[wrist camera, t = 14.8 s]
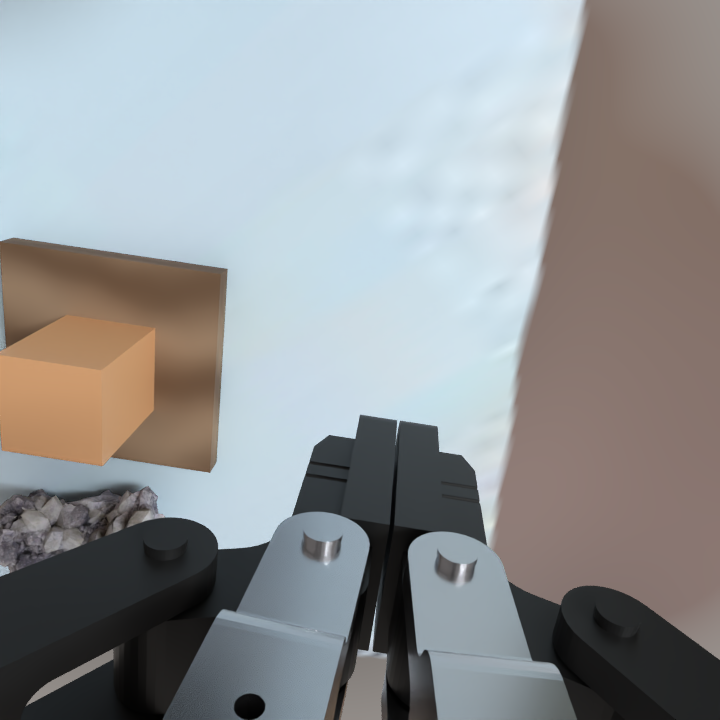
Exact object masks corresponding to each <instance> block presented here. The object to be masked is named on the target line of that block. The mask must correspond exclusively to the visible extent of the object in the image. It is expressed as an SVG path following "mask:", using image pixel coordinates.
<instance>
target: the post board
mask: <svg viewBox="0 0 720 720" xmlns="http://www.w3.org/2000/svg"><path fill="white" fill-rule="evenodd" d="M0 259H1V274H2V290H3V305H4V321H5V336H6V348H7V347H9V346H11V345H13V344H15V343H16V342H18V341H20V340H22V339H24V338H25V337H27V336H29V335H31V334H33V333H35V332H36V331H38V330H40V329H42V328H44V327H46V326H47V325H49V324H51V323H53V322H55V321H56V320H58V319H60V318H62V317H64V316H66V315H71V316H78V317H84V318H91V319H98V320H104V321H111V322H118V323H125V324H131V325H138V326H145V327H151V328H155V372H154V411H153V412H152V413H151V414H150V415H149V416H148V417H147V418H146V419H145V420H144V421H143V423H142V424H141V425H140V426H139V427H138V428H137V429H136V430H135V431H134V432H133V433H132V435H131V436H130V437H129V438H128V439H127V440H126V441H125V442H124V443H123V444H122V445H121V446H120V448H119V449H118V450H117V451H116V452H115V453H114V454H113V455H112V456H111V457H114V458H120V459H126V460H133V461H139V462H145V463H152V464H158V465H165V466H171V467H177V468H184V469H190V470H196V471H203V472H209V473H210V472H211V470H212V468H213V467H214V465H215V463H216V458H217V441H218V424H219V407H220V389H221V372H222V355H223V338H224V321H225V304H226V287H227V269H224V268H217V267H210V266H203V265H196V264H189V263H183V262H176V261H169V260H162V259H155V258H148V257H141V256H135V255H128V254H121V253H114V252H107V251H100V250H94V249H87V248H80V247H73V246H66V245H59V244H52V243H46V242H39V241H32V240H25V239H18V238H11V239H7V240H4V241H0Z"/></svg>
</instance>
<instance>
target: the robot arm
mask: <svg viewBox="0 0 720 720" xmlns="http://www.w3.org/2000/svg"><path fill="white" fill-rule="evenodd" d="M396 428H397V420H391V419H385V418H378V417H371V416H365V415H360V418H359V423H358V428H357V434H356V439H351V438H345V437H338V436H332V435H329V436H328V437H326V438H325V439H323V440H322V441H321V442H319V443H318V444H317V445H315V446H314V449H313V452H312V455H311V458H310V462H309V465H308V468H307V471H306V475H305V477H304V480H303V483H302V487H301V490H300V493H299V496H298V499H297V502H296V505H295V508H294V512H293V515H292V517H289V518H287V519H286V520H284V521H283V522H282V523H281V524H280V525H279V526H278V527H277V529H276V530H275V533H274V535H273V537H272V539H271V541H269V542H267V543H264V544H261V545H258V546H253V547H247V548H236V549H220V550H218V543H217V539H216V537H215V536H214V534H213V533H212V532H211V531H210V530H209V529H208V528H206V527H205V526H204V525H202V524H199V523H197V522H195V521H191V520H188V519H182V518H157V519H152V520H147V521H144V522H141V523H138V524H135V525H133V526H130V527H128V528H125V529H122V530H120V531H117V532H115V533H112V534H109V535H107V536H104V537H102V538H99V539H97V540H94V541H91V542H89V543H86V544H84V545H81V546H78V547H76V548H73V549H71V550H68V551H66V552H63V553H60V554H58V555H55V556H53V557H50V558H47V559H45V560H42V561H40V562H37V563H35V564H32V565H29V566H27V567H24V568H22V569H19V570H16V571H14V572H11V573H9V574H6V575H4V576H1V577H0V720H341V715H342V710H343V706H344V701H345V697H346V691H347V685H348V680H349V679H350V677H351V676H352V674H353V672H354V668H355V663H356V657H357V651H358V649H360V650H366V651H368V649H369V644H370V638H371V632H372V626H373V620H374V614H375V608H376V617H375V629H374V640H373V651H374V652H380V653H386V654H387V668H386V674H385V679H384V684H383V690H382V697H381V712H382V720H720V660H719V659H718V658H716V657H715V656H713V655H712V654H711V653H709V652H708V651H707V650H705V649H704V648H702V647H701V646H700V645H699V644H697V643H696V642H695V641H693V640H692V639H690V638H689V637H688V636H686V635H685V634H684V633H682V632H681V631H680V630H678V629H677V628H675V627H674V626H673V625H671V624H670V623H669V622H667V621H666V620H665V619H663V618H662V617H661V616H659V615H658V614H656V613H655V612H654V611H652V610H651V609H650V608H648V607H647V606H645V605H644V604H643V603H641V602H640V601H638V600H636V599H634V598H633V597H631V596H629V595H626V594H624V593H622V592H619V591H616V590H613V589H609V588H605V587H600V586H582V587H577V588H574V589H572V590H570V591H569V592H568V593H567V594H566V595H565V596H564V598H563V600H562V603H561V605H558V604H556V603H553V602H551V601H548V600H545V599H543V598H540V597H537V596H535V595H533V594H530V593H528V592H526V591H523V590H522V589H520V588H518V587H516V586H515V585H513V584H512V583H510V582H509V581H508V580H507V576H506V573H505V570H504V567H503V564H502V562H501V560H500V559H499V557H498V556H497V555H496V554H495V552H494V551H493V550H491V549H490V548H489V547H488V546H487V543H486V537H485V531H484V525H483V518H482V512H481V506H480V503H479V494H478V490H477V482H476V475H475V471H474V469H473V468H472V467H471V466H470V465H469V464H468V462H467V461H466V460H465V459H464V458H463V457H462V455H456V454H449V453H443V452H439V442H438V428H437V426H431V425H425V424H418V423H411V422H405V421H400V423H399V428H398V433H397V439H396ZM395 443H396V445H395ZM376 602H377V605H376ZM113 648H114V659H113V660H111V661H110V662H108V663H106V664H104V665H102V666H101V667H98V668H96V669H95V670H93V671H91V672H89V673H87V674H85V675H83V676H81V677H80V678H78V679H76V680H74V681H72V682H70V683H68V684H66V685H65V686H63V687H61V688H59V689H57V690H55V691H54V692H51V693H50V694H48V695H46V696H44V697H42V698H40V699H38V700H37V701H35V702H33V703H31V704H29V705H28V706H26V704H27V702H28V701H29V700H30V699H31V697H32V696H33V695H34V694H35V693H36V692H37V691H38V690H39V689H40V688H41V687H43V686H44V685H45V684H47V683H48V682H50V681H52V680H54V679H56V678H57V677H59V676H61V675H63V674H65V673H67V672H69V671H71V670H73V669H75V668H77V667H78V666H80V665H82V664H84V663H86V662H88V661H90V660H92V659H94V658H96V657H98V656H100V655H102V654H104V653H105V652H107V651H109V650H111V649H113Z"/></svg>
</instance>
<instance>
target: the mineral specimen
mask: <svg viewBox="0 0 720 720" xmlns="http://www.w3.org/2000/svg"><path fill="white" fill-rule="evenodd" d="M157 498H158V496H157V495H156V494H155V493H154V492H153V491H152V490H151V489H150V488H149V486H147V487H145V488H143V489H142V490H141V491H138V492H135V493H131V492H129V491H128V490H127V491H126V492H125V493H124V494H123V496H119V495H117V494H114V493H111V492H110V490H107V491H104V492H103V493H102V494H101V495H100V496H94V497H88V498H83V499H81V500H78V501H73V502H65V501H64V499H62V500H59V499H58V497H57V496H56V495H55V496H54V497H50V496H48V495H47V493H46V492H45V491H44V490H43V489H40V490H37V491H35V492H33V493H30V495H29V496H28V497H26V496H22V495H13V496H12V497H11V498H10V499H8V500H6V501H5V502H4V503H3V504H2V505H1V506H0V565H2V566H4V567H6V566H8V567H9V570H10V573H11V572H14V571H16V570H19V569H22V568H24V567H27V566H29V565H32V564H35V563H37V562H40V561H42V560H45V559H47V558H50V557H53V556H55V555H58V554H60V553H63V552H66V551H68V550H71V549H73V548H76V547H78V546H81V545H84V544H86V543H89V542H91V541H94V540H97V539H99V538H102V537H104V536H107V535H109V534H112V533H115V532H117V531H120V530H122V529H125V528H128V527H130V526H133V525H135V524H138V523H141V522H144V521H147V520H152V519H157V518H165V516H164V515H163V514H158V509H157V503H156V501H157Z"/></svg>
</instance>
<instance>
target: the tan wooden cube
mask: <svg viewBox="0 0 720 720" xmlns="http://www.w3.org/2000/svg"><path fill="white" fill-rule="evenodd" d="M154 372H155V328H151V327H145V326H138V325H131V324H125V323H118V322H111V321H104V320H98V319H91V318H84V317H78V316H71V315H66V316H64V317H62V318H60V319H58V320H56V321H55V322H53V323H51V324H49V325H47V326H46V327H44V328H42V329H40V330H38V331H36V332H35V333H33V334H31V335H29V336H27V337H25V338H24V339H22V340H20V341H18V342H16V343H15V344H13V345H11V346H9V347H7V348H5V349H4V350H2V351H0V431H1V445H2V450H3V451H9V452H15V453H22V454H28V455H35V456H41V457H47V458H54V459H60V460H66V461H73V462H79V463H86V464H92V465H98V466H103V465H104V464H105V463H106V462H107V461H108V460H109V458H110V457H111V456H112V455H113V454H114V453H115V452H116V451H117V450H118V449H119V448H120V446H121V445H122V444H123V443H124V442H125V441H126V440H127V439H128V438H129V437H130V436H131V435H132V433H133V432H134V431H135V430H136V429H137V428H138V427H139V426H140V425H141V424H142V423H143V421H144V420H145V419H146V418H147V417H148V416H149V415H150V414H151V413H152V412H153V411H154Z"/></svg>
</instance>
